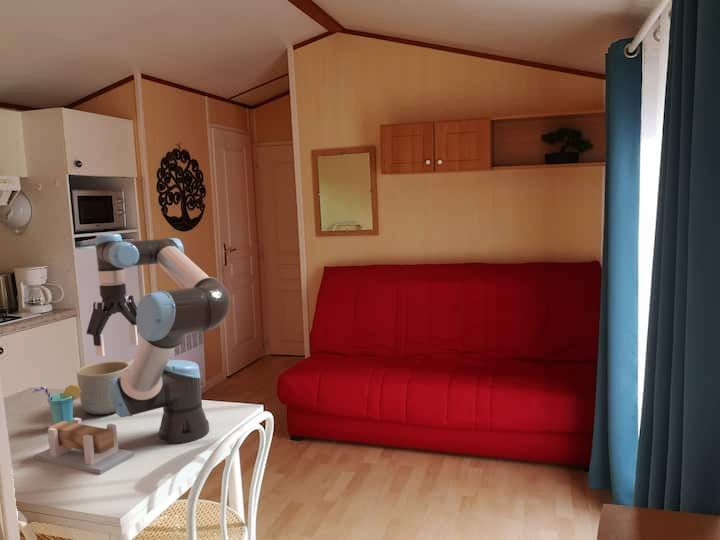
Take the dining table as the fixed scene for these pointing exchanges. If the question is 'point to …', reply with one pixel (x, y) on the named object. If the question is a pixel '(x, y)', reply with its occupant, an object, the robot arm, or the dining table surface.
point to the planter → (98, 385)
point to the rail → (74, 434)
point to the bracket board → (84, 453)
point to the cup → (62, 403)
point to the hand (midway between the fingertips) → (118, 350)
